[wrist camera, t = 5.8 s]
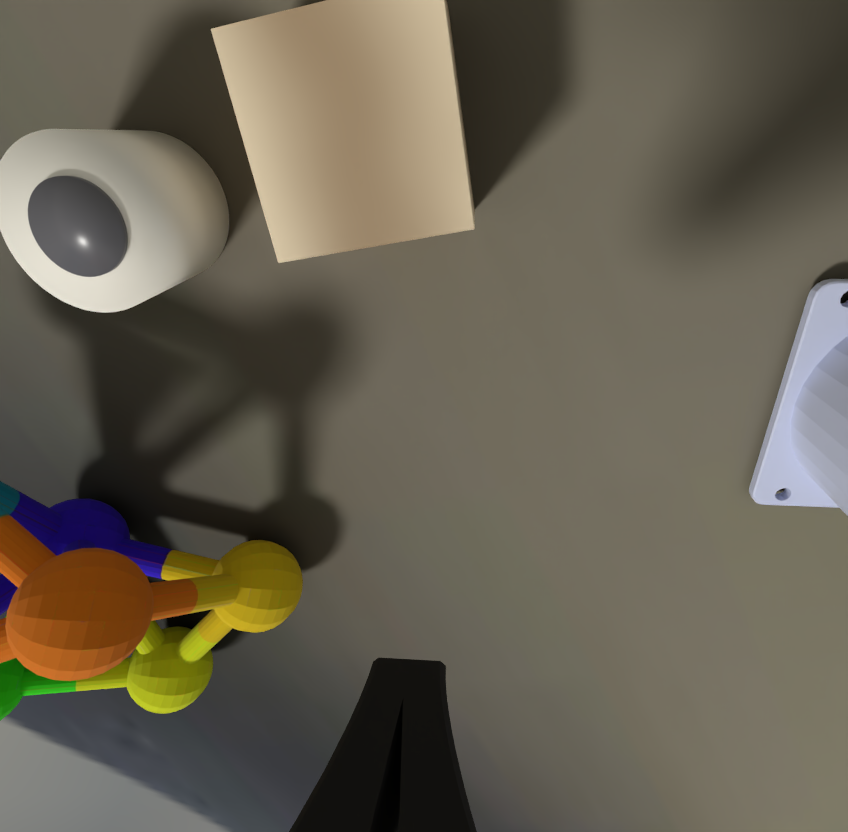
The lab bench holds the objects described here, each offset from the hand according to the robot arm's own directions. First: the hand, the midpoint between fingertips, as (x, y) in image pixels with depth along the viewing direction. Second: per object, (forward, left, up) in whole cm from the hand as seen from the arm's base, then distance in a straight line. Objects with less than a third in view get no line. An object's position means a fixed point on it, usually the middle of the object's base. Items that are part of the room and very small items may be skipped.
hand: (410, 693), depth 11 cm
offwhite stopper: (+9, -8, -11) cm, 16 cm away
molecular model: (+13, +6, -11) cm, 18 cm away
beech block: (+2, -10, -11) cm, 15 cm away
